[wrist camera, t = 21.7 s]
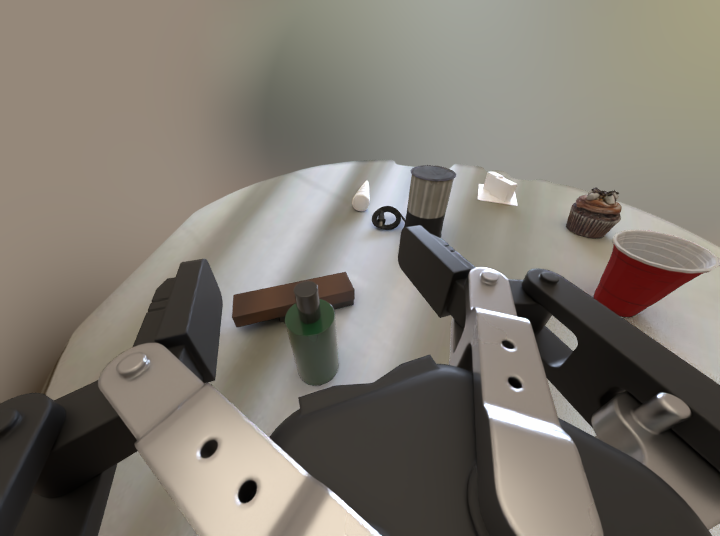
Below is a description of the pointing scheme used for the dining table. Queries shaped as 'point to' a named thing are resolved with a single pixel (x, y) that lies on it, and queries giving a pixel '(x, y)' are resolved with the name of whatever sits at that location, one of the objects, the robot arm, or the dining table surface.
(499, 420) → the robot arm
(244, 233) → the dining table surface
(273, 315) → the brush
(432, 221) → the milk frother
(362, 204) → the unicorn horn
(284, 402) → the dining table surface
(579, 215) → the cupcake
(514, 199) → the napkin holder
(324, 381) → the green bottle
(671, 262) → the plastic cup
